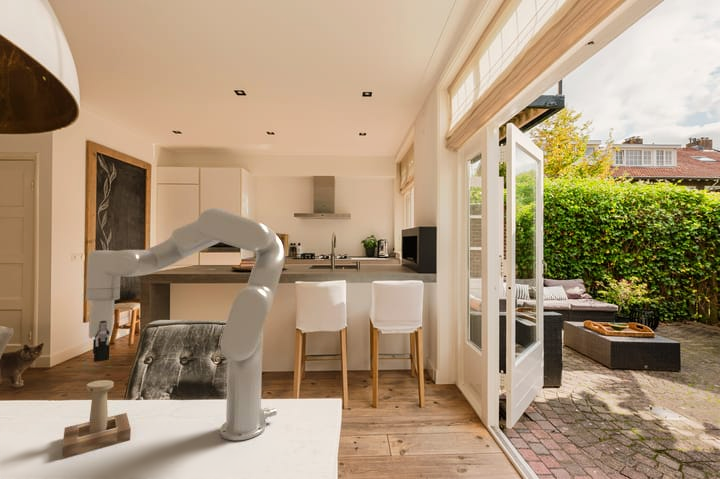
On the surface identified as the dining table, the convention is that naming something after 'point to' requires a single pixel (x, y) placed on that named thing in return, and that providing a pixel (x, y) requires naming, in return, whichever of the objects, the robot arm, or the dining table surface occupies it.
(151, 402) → the dining table surface
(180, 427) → the dining table surface
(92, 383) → the handle
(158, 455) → the dining table surface
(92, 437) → the wooden frame
